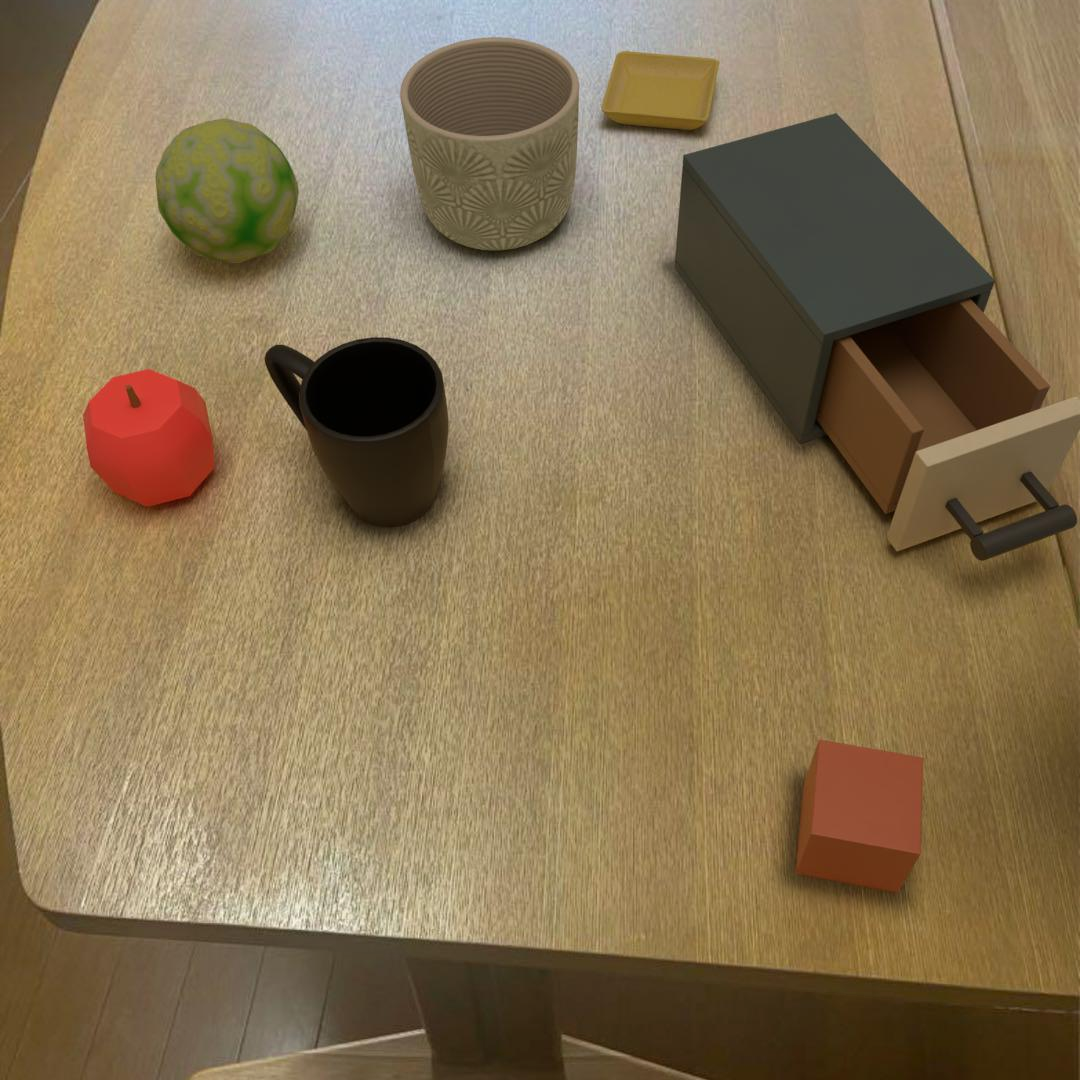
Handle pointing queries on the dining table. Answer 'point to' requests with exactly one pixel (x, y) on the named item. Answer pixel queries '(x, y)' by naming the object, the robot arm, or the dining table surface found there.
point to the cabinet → (810, 254)
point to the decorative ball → (226, 190)
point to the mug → (371, 422)
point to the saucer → (660, 90)
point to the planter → (493, 139)
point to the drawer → (949, 428)
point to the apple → (149, 437)
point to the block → (861, 816)
